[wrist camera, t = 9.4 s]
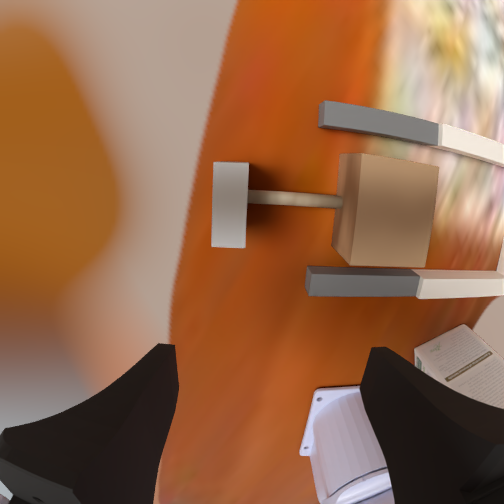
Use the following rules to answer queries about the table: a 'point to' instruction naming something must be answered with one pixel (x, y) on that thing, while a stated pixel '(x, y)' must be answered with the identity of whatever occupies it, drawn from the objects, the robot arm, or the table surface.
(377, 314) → the table surface
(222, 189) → the lopsided dumbbell
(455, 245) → the table surface
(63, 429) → the robot arm
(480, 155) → the frame
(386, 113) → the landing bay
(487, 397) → the syrup box
